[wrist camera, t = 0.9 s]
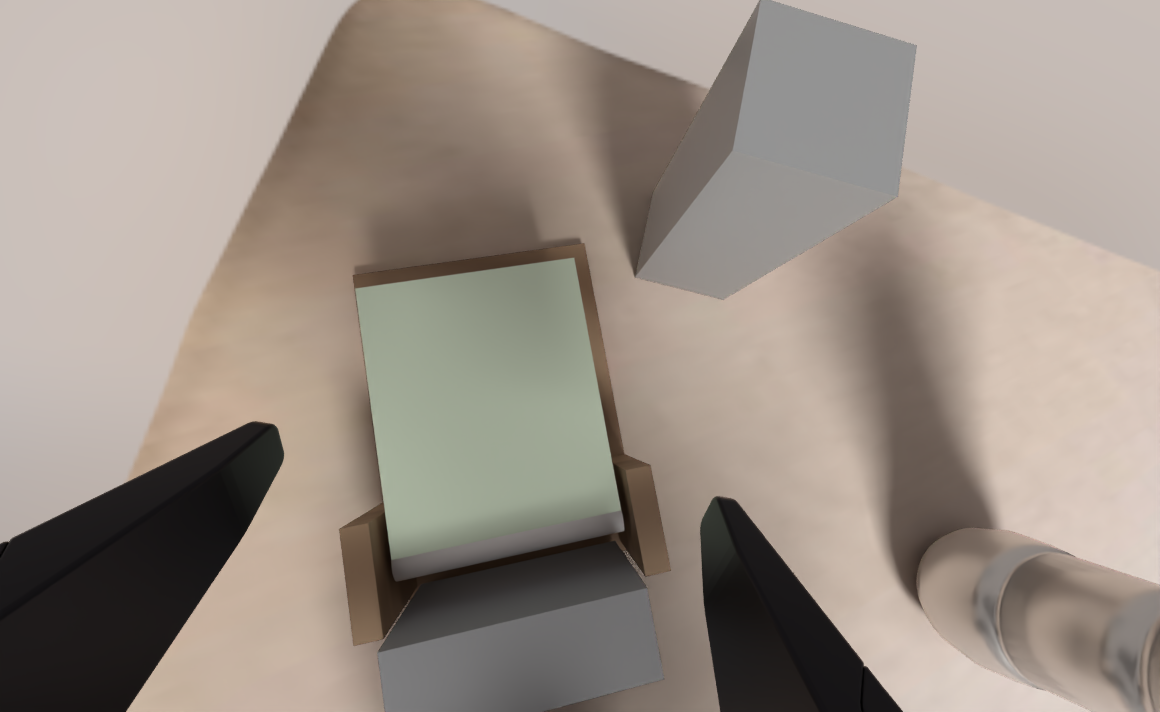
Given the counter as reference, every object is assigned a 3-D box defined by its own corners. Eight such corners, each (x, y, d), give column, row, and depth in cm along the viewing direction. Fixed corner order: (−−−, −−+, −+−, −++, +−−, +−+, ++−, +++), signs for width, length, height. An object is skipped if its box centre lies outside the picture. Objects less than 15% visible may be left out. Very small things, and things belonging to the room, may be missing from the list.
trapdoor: (627, 606, 21) (664, 679, 16) (430, 654, 20) (390, 752, 14) (567, 281, 23) (580, 235, 17) (382, 308, 22) (328, 269, 16)
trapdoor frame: (639, 543, 23) (673, 584, 17) (399, 598, 21) (355, 661, 16) (583, 246, 24) (598, 199, 19) (356, 277, 23) (303, 236, 18)
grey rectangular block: (723, 299, 25) (897, 197, 13) (635, 277, 25) (732, 150, 13) (738, 215, 26) (916, 45, 14) (652, 192, 25) (761, -3, 13)
